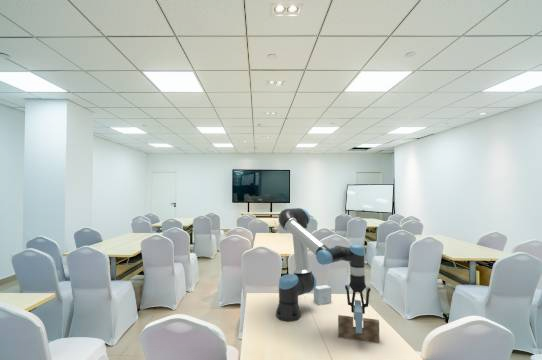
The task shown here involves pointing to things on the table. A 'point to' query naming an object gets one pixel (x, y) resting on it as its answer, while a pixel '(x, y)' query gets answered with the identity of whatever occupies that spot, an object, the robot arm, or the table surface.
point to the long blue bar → (358, 316)
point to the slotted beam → (348, 331)
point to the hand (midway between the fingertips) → (358, 318)
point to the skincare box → (322, 294)
